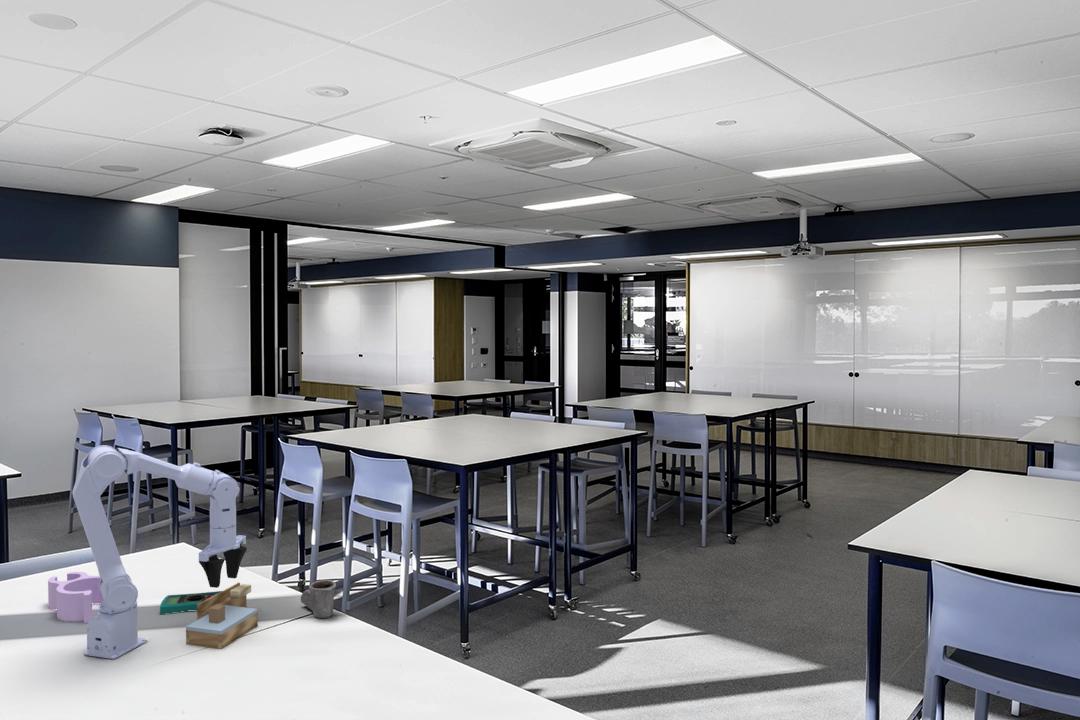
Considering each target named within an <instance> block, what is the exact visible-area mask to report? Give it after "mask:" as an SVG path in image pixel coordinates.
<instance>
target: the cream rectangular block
mask: <svg viewBox="0 0 1080 720" xmlns="http://www.w3.org/2000/svg"><path fill="white" fill-rule="evenodd" d="M251 592H252V584H248V583H247V584H246V583H242V584H241V583H240V586H238V587H236V588H234V589H232V590H230V598H233V599H240V598H241V597H243V596H245V595H246V596H247V595H248V594H250V593H251Z"/></svg>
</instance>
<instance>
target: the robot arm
mask: <svg viewBox="0 0 1080 720" xmlns="http://www.w3.org/2000/svg"><path fill="white" fill-rule="evenodd" d="M80 463H81V464H80V469H79V472H78V474H77V477H76V480H75V482H74V485H73V489H72V498H73V501H74V503H75V507H76V509H77V512H78V515H79V519H80V521H81V523H82V527H83V530H84V532H85V536H86V537H87V538H86V539H87V542H88V545H89V547H90V550H91V553H92V556H93V559H94V562H95V564H96V567H97V571H98V576H100V585H99V591H100V594H101V595H102V596H103V598H104V600H103V602H102V603H101V604H99V607H98V611H97V614H96V615H95V616H93V617H92V619H91V620H90V621H89V623H87V626H86V651H84V652H83V655H84V656H90V657H97V658H102V659H103V658H104V659H112V660H115V659H118V658H119V657H122V656H123V655H125V654H126V653H128V652H130V651H132V650H134V649H135V648H137V647H140V646H141V645H143V644H145V643H146V642H147V641H148V638H144V637H139V636H138V635H139V633H138V631H139V629H138V597H139V591H138V588H137V587H136V585H135V584H134V583H133V582H132V579H131V576H130V575H129V574H128V573H127V572H126V569H125V567H124V565H123V562H122V558H121V556H120V553H119V550H118V547H117V543H116V542H115V538H114V536H113V532H112V530H111V527H110V523H109V520H108V517H107V514H106V510H105V509H104V505H103V501H102V499H101V495H103V493H104V492H105V490H106V489H107V487H108V486H109V485H110V484H111V483H113V482H115V481H116V480H117V479H118V478H119V477H121V476H122V475H123V474H126V475H132V474H135V473H137V472H143V473H147V474H150V475H151V474H152V475H154V476H158V477H162V478H167V479H170V480H173V481H175V484H176V487H177V488H178V489H179V488H180V489H183V490H186V491H189V492H193V493H196V494H200V495H203V496H209V497H210V498H209V544H208V545H207V546H206V547H205V548H204V549H203V550H201V551H199V552H198V564H199V565H201V567H202V569H203V571H204V573H205V575H206V578H207V582H208V585H209V587H210V588H219V587H220V585H221V574H222V569H223V565H224V562H225V569H226V576H227V579H237V577H238V573H239V571H240V566H241V563H242V560H243V558H244V556H245V554H246V552H247V546H245V545H246V543H247V536H246V535H237V505H236V504H237V503H236V498H237V497H238V495H239V493H240V487H239V485H238V482H237V480H236V479H234V477H232V476H230V475H229V474H226V473H224V472H223V471H222V472H221V471H220V470H218V469H215V470H211V469H208V468H205V467H203V466H201V464H200V463H198V462H196V461H195V462H193V463H185V464H183V465H180V466H179V465H176V464H173V463H170V462H167V461H166V460H165V461H164V460H162V459H159V458H156V457H153V456H150V455H147V454H144V453H143V452H138V451H135V450H130V449H126V448H120V447H117V449H116V448H115V447H113V446H111V445H107V444H106V445H104V444H103V445H97V446H96V447H94V448H92V449H90V450H89V452H88V454H87V455H86V456H85V457H84V458H83V459H82V460H81V462H80ZM242 545H244V546H242ZM221 554H223V556H224V558H219V556H218V555H221Z"/></svg>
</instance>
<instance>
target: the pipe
mask: <svg viewBox="0 0 1080 720" xmlns="http://www.w3.org/2000/svg"><path fill="white" fill-rule="evenodd" d="M336 586H337V583H336V582H335V581H333V580H331V579H323V580H316V581H314V582H312V583H311V584H309V585H308V589H305V590H304V591H303V592H302V593H301V596H300V602H301V604H303V605H305V607H307V608H309V610H311V611H312V613H313V616H314V617H315V618H318V619H328V618H330V617H331V616H332V615H333V613H334V599H335V590H336Z"/></svg>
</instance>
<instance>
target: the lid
mask: <svg viewBox="0 0 1080 720" xmlns="http://www.w3.org/2000/svg"><path fill="white" fill-rule="evenodd" d="M257 612H258V608H252V607H247V608H246V607H237V606H229V605H217V604H216V605H214V606H212V607H210V608H209V614H207V615H206V616H204V617H202V618H200V619H198V620H197V619H196V620H195V621H193V622H191V623H190V624H189V625H186V626H185V631H186V630H189V631H197V632H205V633H213V634H220V635H221V634H223V633H225V632H226V631H228V630H230V629H231V628H233V627H234V626H236V625H238V624H239V623H241V622H243V621H244V620H246V619H247V618H249V617H251V616H252V615H254V614H255V613H257Z"/></svg>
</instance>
